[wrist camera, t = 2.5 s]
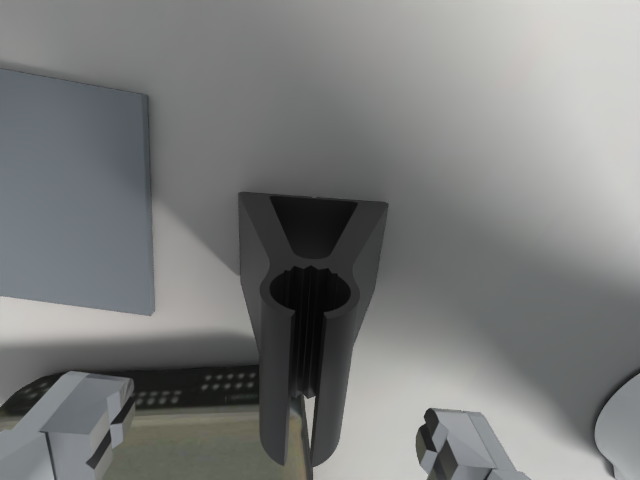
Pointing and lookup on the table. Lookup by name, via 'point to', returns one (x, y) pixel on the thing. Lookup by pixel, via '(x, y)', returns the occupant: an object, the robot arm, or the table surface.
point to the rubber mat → (75, 194)
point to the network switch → (190, 427)
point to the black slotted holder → (306, 304)
